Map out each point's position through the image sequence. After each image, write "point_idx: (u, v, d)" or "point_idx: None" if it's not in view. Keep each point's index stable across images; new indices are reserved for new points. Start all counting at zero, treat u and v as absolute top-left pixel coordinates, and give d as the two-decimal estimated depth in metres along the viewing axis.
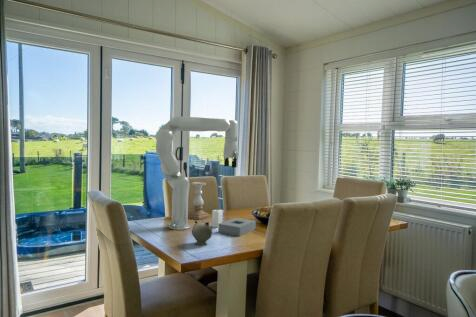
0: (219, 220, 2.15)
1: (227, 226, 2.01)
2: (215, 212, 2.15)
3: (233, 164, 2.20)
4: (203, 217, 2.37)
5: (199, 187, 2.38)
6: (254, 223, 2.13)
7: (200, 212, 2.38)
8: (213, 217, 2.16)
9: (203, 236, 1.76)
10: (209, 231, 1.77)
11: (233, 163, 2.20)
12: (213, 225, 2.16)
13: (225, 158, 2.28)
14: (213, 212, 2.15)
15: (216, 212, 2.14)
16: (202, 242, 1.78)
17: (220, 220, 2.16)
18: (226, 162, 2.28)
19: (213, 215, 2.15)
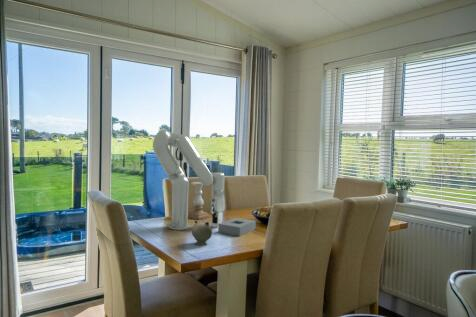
0: (219, 220, 2.15)
1: (227, 226, 2.01)
2: None
3: None
4: (203, 217, 2.37)
5: (199, 187, 2.38)
6: (254, 223, 2.13)
7: (200, 212, 2.38)
8: None
9: (203, 236, 1.76)
10: (209, 231, 1.77)
11: None
12: (213, 225, 2.16)
13: (216, 214, 2.14)
14: None
15: None
16: (202, 242, 1.78)
17: (220, 220, 2.16)
18: None
19: None
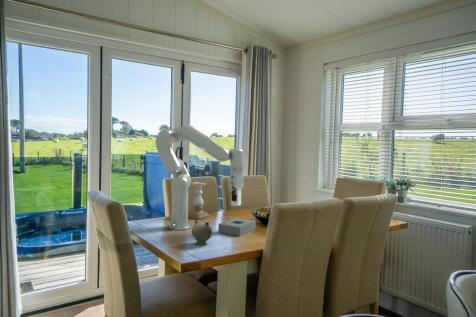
0: (238, 198, 2.08)
1: (227, 226, 2.01)
2: None
3: None
4: (203, 217, 2.37)
5: (199, 187, 2.38)
6: (254, 223, 2.13)
7: (200, 212, 2.38)
8: None
9: (203, 236, 1.76)
10: (209, 231, 1.77)
11: None
12: (232, 203, 2.08)
13: None
14: None
15: None
16: (202, 242, 1.78)
17: (239, 198, 2.09)
18: None
19: None
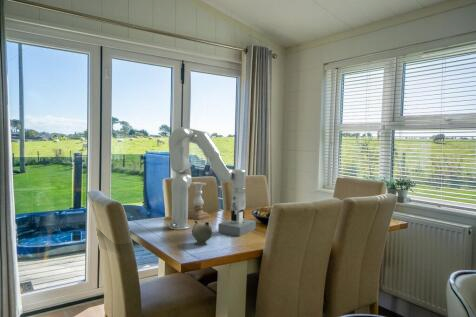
0: (240, 221, 2.07)
1: (227, 226, 2.01)
2: (236, 213, 2.07)
3: None
4: (203, 217, 2.37)
5: (199, 187, 2.38)
6: (254, 223, 2.13)
7: (200, 212, 2.38)
8: None
9: (203, 236, 1.76)
10: (209, 231, 1.77)
11: None
12: None
13: None
14: None
15: (237, 213, 2.06)
16: (202, 242, 1.78)
17: (241, 222, 2.08)
18: None
19: None
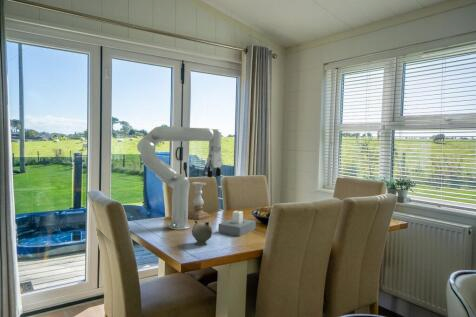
0: (240, 221, 2.07)
1: (227, 226, 2.01)
2: (236, 213, 2.07)
3: None
4: (203, 217, 2.37)
5: (199, 187, 2.38)
6: (254, 223, 2.13)
7: (200, 212, 2.38)
8: (234, 218, 2.07)
9: (203, 236, 1.76)
10: (209, 231, 1.77)
11: None
12: None
13: None
14: (234, 213, 2.07)
15: (237, 213, 2.06)
16: (202, 242, 1.78)
17: (241, 222, 2.08)
18: None
19: (234, 216, 2.07)
